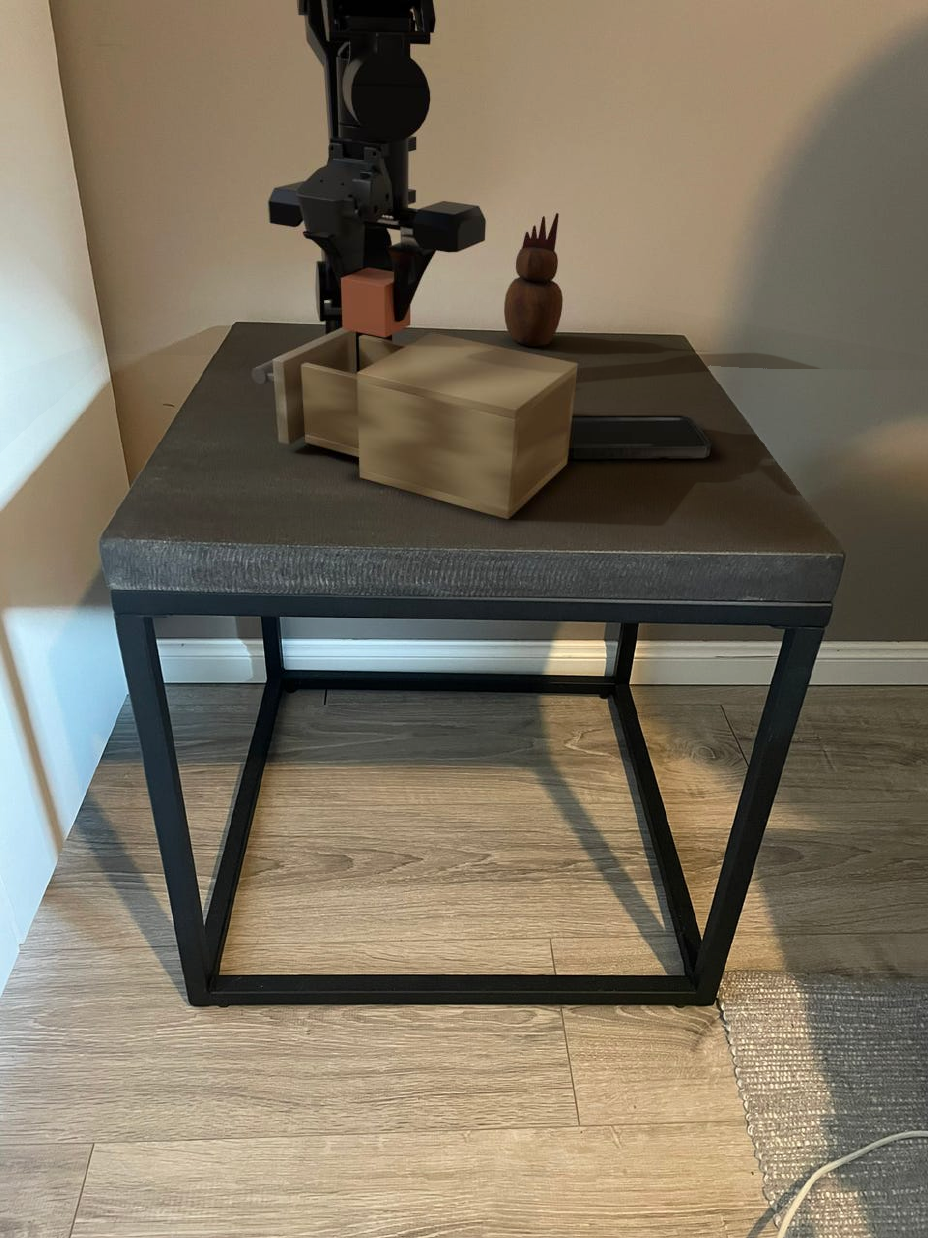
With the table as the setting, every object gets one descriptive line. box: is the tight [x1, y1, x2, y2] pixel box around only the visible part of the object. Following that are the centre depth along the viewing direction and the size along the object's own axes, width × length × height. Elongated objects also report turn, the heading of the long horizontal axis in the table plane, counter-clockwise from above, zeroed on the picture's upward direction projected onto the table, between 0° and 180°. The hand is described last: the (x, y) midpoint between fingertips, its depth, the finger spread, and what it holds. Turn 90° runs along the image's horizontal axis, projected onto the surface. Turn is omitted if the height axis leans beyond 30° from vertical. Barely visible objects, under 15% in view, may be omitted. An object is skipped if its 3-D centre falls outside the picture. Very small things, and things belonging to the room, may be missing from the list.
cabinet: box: [357, 332, 579, 520], centre depth 83 cm, size 15×13×10 cm
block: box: [341, 268, 411, 338], centre depth 85 cm, size 4×4×4 cm
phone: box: [567, 414, 712, 460], centre depth 92 cm, size 8×1×15 cm
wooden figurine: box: [503, 212, 564, 347], centre depth 112 cm, size 7×6×15 cm
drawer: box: [251, 327, 410, 458], centre depth 87 cm, size 18×11×8 cm, turn 62°
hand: (376, 316), depth 86 cm, fingers closed on block, 4 cm apart
